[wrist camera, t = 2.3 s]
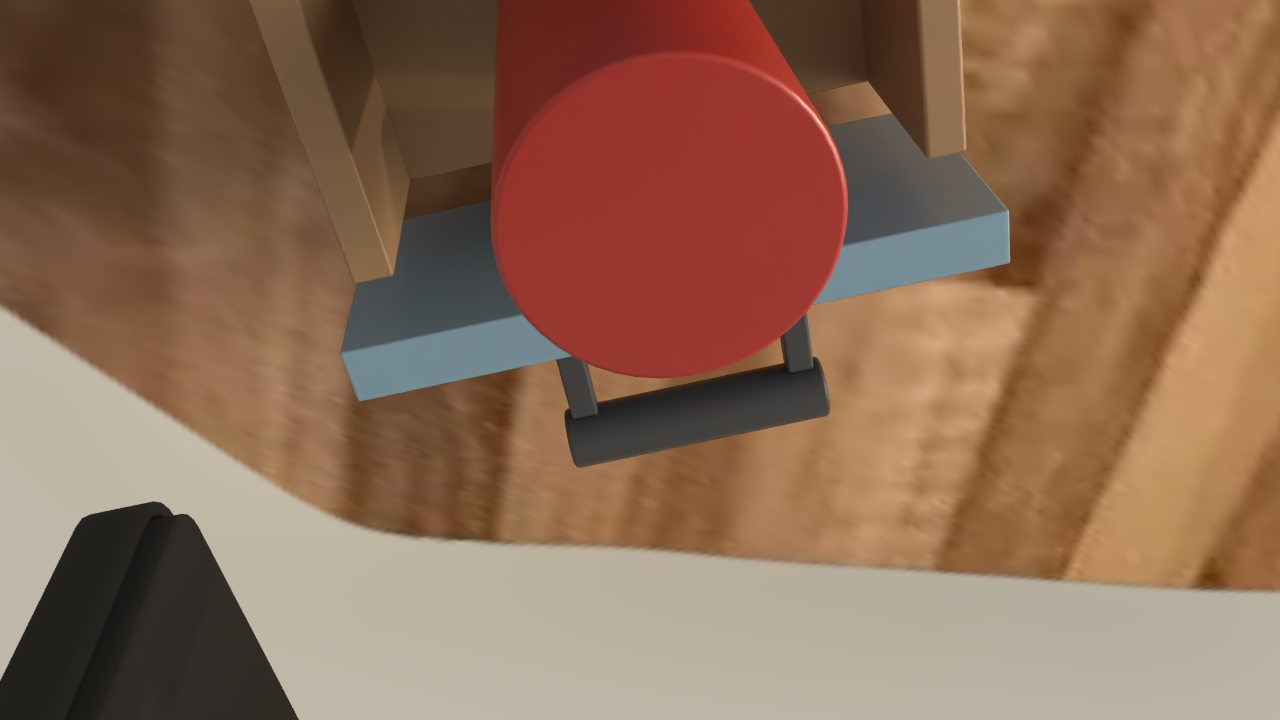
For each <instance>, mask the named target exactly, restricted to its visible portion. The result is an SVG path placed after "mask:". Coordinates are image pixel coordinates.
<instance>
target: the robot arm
mask: <svg viewBox="0 0 1280 720" xmlns="http://www.w3.org/2000/svg"><path fill="white" fill-rule="evenodd" d="M0 720H299V719H298V717H297V715H296V713H295V711H294V709H293V708H292V706H291V704H290V702H289V700H288V698H287V696H286V694H285V692H284V690H283V689H282V686H281V685H280V683H279V681H278V679H277V677H276V675H275V673H274V671H273V669H272V667H271V665H270V663H269V662H268V660H267V658H266V656H265V654H264V652H263V650H262V648H261V646H260V644H259V643H258V640H257V639H256V637H255V635H254V633H253V631H252V629H251V627H250V625H249V623H248V621H247V619H246V617H245V615H244V614H243V612H242V610H241V608H240V606H239V604H238V602H237V600H236V598H235V596H234V595H233V592H232V591H231V589H230V587H229V585H228V583H227V581H226V579H225V577H224V575H223V573H222V571H221V569H220V567H219V565H218V564H217V562H216V560H215V558H214V556H213V554H212V552H211V550H210V548H209V546H208V544H207V542H206V541H205V539H204V537H203V535H202V533H201V531H200V529H199V527H198V526H197V524H196V523H195V521H194V520H193V519H192V518H191V517H190V516H189V515H186V514H179V515H173V514H172V513H171V511H170V509H169V508H167V507H166V506H165V505H164V504H162V503H159V502H149V503H144V504H139V505H134V506H130V507H124V508H120V509H115V510H110V511H105V512H100V513H95V514H91V515H88V516H86V517H84V518H82V519H81V521H80V522H79V524H78V525H77V526H76V528H75V530H74V532H73V534H72V536H71V538H70V540H69V542H68V544H67V546H66V548H65V550H64V552H63V554H62V556H61V559H60V560H59V562H58V564H57V566H56V568H55V571H54V573H53V575H52V577H51V579H50V581H49V583H48V585H47V587H46V589H45V591H44V593H43V595H42V597H41V599H40V601H39V603H38V605H37V607H36V609H35V611H34V614H33V615H32V617H31V619H30V621H29V623H28V626H27V627H26V630H25V632H24V634H23V636H22V638H21V640H20V642H19V644H18V646H17V648H16V650H15V652H14V654H13V656H12V658H11V660H10V662H9V664H8V666H7V668H6V670H5V673H4V675H3V677H2V678H1V681H0Z"/></svg>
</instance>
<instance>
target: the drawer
mask: <svg viewBox="0 0 1280 720" xmlns="http://www.w3.org/2000/svg"><path fill="white" fill-rule="evenodd" d="M249 2H250V5H251V7H252V10H253V13H254V16H255V18H256V21H257V24H258V26H259V29H260V32H261V34H262V37H263V40H264V42H265V45H266V48H267V51H268V53H269V56H270V59H271V61H272V64H273V67H274V69H275V72H276V75H277V78H278V80H279V83H280V86H281V88H282V91H283V94H284V96H285V99H286V102H287V104H288V107H289V110H290V113H291V115H292V118H293V121H294V123H295V126H296V129H297V131H298V134H299V137H300V139H301V142H302V145H303V148H304V150H305V153H306V156H307V158H308V161H309V164H310V166H311V169H312V172H313V174H314V177H315V180H316V183H317V185H318V188H319V191H320V193H321V196H322V199H323V201H324V204H325V207H326V210H327V212H328V215H329V218H330V220H331V223H332V226H333V228H334V231H335V234H336V236H337V239H338V242H339V245H340V247H341V250H342V253H343V255H344V258H345V261H346V263H347V266H348V269H349V271H350V274H351V277H352V280H353V282H354V283H356V288H355V292H354V296H353V301H352V305H351V309H350V314H349V318H348V322H347V327H346V331H345V335H344V339H343V344H342V348H341V352H340V355H341V358H342V360H343V363H344V366H345V368H346V371H347V373H348V376H349V378H350V381H351V383H352V386H353V388H354V391H355V394H356V396H357V399H358V400H359V401H364V400H369V399H373V398H378V397H383V396H388V395H392V394H397V393H402V392H406V391H411V390H416V389H420V388H425V387H430V386H434V385H439V384H444V383H449V382H453V381H458V380H463V379H467V378H472V377H477V376H481V375H486V374H491V373H496V372H500V371H505V370H510V369H514V368H519V367H524V366H528V365H533V364H538V363H542V362H547V361H552V360H557V364H558V368H559V371H560V375H561V379H562V382H563V386H564V390H565V393H566V397H567V400H568V404H569V408H570V409H567V410H566V411H565V426H566V432H567V438H568V442H569V447H570V451H571V455H572V458H573V461H574V463H575V465H576V466H577V467H579V468H582V467H586V466H591V465H596V464H601V463H605V462H610V461H615V460H620V459H624V458H629V457H634V456H639V455H643V454H648V453H653V452H658V451H662V450H667V449H672V448H677V447H681V446H686V445H691V444H696V443H700V442H705V441H710V440H715V439H719V438H724V437H729V436H734V435H738V434H743V433H748V432H753V431H757V430H762V429H767V428H772V427H776V426H781V425H786V424H791V423H795V422H800V421H805V420H810V419H814V418H819V417H824V416H827V415H828V414H829V413H830V400H829V394H828V388H827V384H826V379H825V376H824V372H823V369H822V366H821V363H820V361H819V360H818V358H817V357H812V350H811V343H810V335H809V328H808V320H807V313H805V314H804V315H803V316H802V317H801V318H800V319H799V320H798V322H797V323H796V324H795V325H794V326H792V327H791V328H790V329H789V330H788V331H787V332H785V333H784V334H783V335H782V336H781V337H780V339H781V346H782V352H783V359H784V362H785V363H782V364H777V365H772V366H768V367H763V368H758V369H754V370H749V371H744V372H739V373H735V374H730V375H725V376H721V377H716V378H711V379H706V380H702V381H697V382H692V383H688V384H683V385H678V386H673V387H669V388H664V389H659V390H654V391H650V392H645V393H640V394H636V395H631V396H626V397H621V398H617V399H612V400H607V401H603V402H598V403H597V400H596V396H595V392H594V388H593V384H592V380H591V376H590V373H589V369H588V365H587V363H585V362H583V361H581V360H578V359H576V358H575V357H573V356H571V355H570V354H568V353H566V352H564V351H563V350H561V349H559V348H558V347H557V346H555V345H554V344H553V343H552V342H550V341H549V340H548V339H546V338H545V337H544V336H543V335H541V334H540V333H539V332H538V331H537V330H536V329H535V328H534V327H533V326H532V325H531V324H530V323H529V322H528V321H527V319H526V318H525V317H524V316H523V314H522V313H521V312H520V310H519V309H518V308H517V306H516V305H515V304H514V302H513V300H512V299H511V297H510V295H509V293H508V291H507V289H506V288H505V286H504V284H503V281H502V279H501V276H500V273H499V270H498V268H497V265H496V261H495V257H494V252H493V247H492V241H491V226H490V214H491V200H490V201H485V202H480V203H476V204H471V205H467V206H462V207H457V208H453V209H448V210H444V211H439V212H434V213H430V214H425V215H420V216H416V217H411V218H407V219H403V218H404V212H405V206H406V201H407V195H408V189H409V184H410V181H411V180H416V179H420V178H425V177H429V176H434V175H439V174H443V173H448V172H452V171H457V170H462V169H466V168H471V167H475V166H480V165H485V164H489V163H492V155H493V126H494V97H495V68H496V39H497V10H498V0H249ZM749 2H750V3H751V5H752V6H753V8H754V10H755V11H756V13H757V15H758V16H759V18H760V19H761V21H762V23H763V24H764V26H765V28H766V29H767V31H768V32H769V34H770V36H771V37H772V39H773V41H774V42H775V44H776V45H777V47H778V49H779V50H780V52H781V54H782V55H783V57H784V58H785V60H786V62H787V63H788V65H789V67H790V68H791V70H792V71H793V73H794V75H795V76H796V78H797V80H798V81H799V83H800V85H801V86H802V88H803V89H804V91H805V93H806V94H811V93H816V92H820V91H825V90H829V89H834V88H839V87H843V86H848V85H852V84H857V83H862V82H866V81H868V82H869V83H870V85H871V86H872V87H873V88H874V90H875V91H876V92H877V94H878V95H879V96H880V98H881V99H882V100H883V102H884V103H885V104H886V105H887V107H888V108H889V109H890V111H891V112H892V113H891V114H887V115H882V116H877V117H873V118H868V119H863V120H859V121H854V122H850V123H845V124H840V125H836V126H831V127H827V129H828V131H829V133H830V134H831V136H832V138H833V140H834V142H835V144H836V146H837V149H838V152H839V155H840V158H841V161H842V164H843V167H844V172H845V177H846V183H847V188H848V216H847V225H846V232H845V236H844V240H843V244H842V248H841V252H840V255H839V257H838V260H837V262H836V265H835V267H834V270H833V272H832V274H831V276H830V278H829V280H828V281H827V283H826V285H825V287H824V289H823V290H822V292H821V294H820V295H819V296H818V298H817V299H816V300H815V302H814V303H813V304H812V305H815V304H819V303H824V302H829V301H834V300H838V299H843V298H848V297H852V296H857V295H862V294H866V293H871V292H876V291H880V290H885V289H890V288H895V287H899V286H904V285H909V284H913V283H918V282H923V281H927V280H932V279H937V278H941V277H946V276H951V275H956V274H960V273H965V272H970V271H974V270H979V269H984V268H988V267H993V266H998V265H1003V264H1007V263H1009V262H1010V242H1009V211H1008V209H1007V208H1006V207H1005V206H1004V205H1003V203H1002V202H1001V201H1000V200H999V199H998V197H997V196H996V195H995V194H994V193H993V191H992V190H991V189H990V188H989V187H988V185H987V184H986V183H985V182H984V181H983V179H982V178H981V177H980V176H979V175H978V173H977V172H976V171H975V170H974V169H973V167H972V166H971V165H970V164H969V163H968V161H967V160H966V159H965V158H964V157H963V155H962V154H961V153H960V152H963V151H965V150H966V126H965V103H964V81H963V58H962V35H961V12H960V0H749Z"/></svg>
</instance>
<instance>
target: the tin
mask: <svg viewBox="0 0 1280 720" xmlns="http://www.w3.org/2000/svg"><path fill="white" fill-rule="evenodd" d="M847 216H848V188H847V183H846V177H845V172H844V167H843V164H842V161H841V158H840V155H839V152H838V149H837V146H836V144H835V142H834V140H833V138H832V136H831V134H830V133H829V131H828V129H827V127H826V125H825V124H824V122H823V120H822V119H821V117H820V115H819V114H818V112H817V111H816V109H815V107H814V106H813V104H812V102H811V101H810V99H809V98H808V96H807V94H806V93H805V91H804V89H803V88H802V86H801V85H800V83H799V81H798V80H797V78H796V76H795V75H794V73H793V71H792V70H791V68H790V67H789V65H788V63H787V62H786V60H785V58H784V57H783V55H782V54H781V52H780V50H779V49H778V47H777V45H776V44H775V42H774V41H773V39H772V37H771V36H770V34H769V32H768V31H767V29H766V28H765V26H764V24H763V23H762V21H761V19H760V18H759V16H758V15H757V13H756V11H755V10H754V8H753V6H752V5H751V3H750V2H749V0H498V10H497V39H496V68H495V97H494V126H493V155H492V184H491V214H490V226H491V241H492V247H493V252H494V257H495V261H496V265H497V268H498V270H499V273H500V276H501V279H502V281H503V284H504V286H505V288H506V289H507V291H508V293H509V295H510V297H511V299H512V300H513V302H514V304H515V305H516V306H517V308H518V309H519V310H520V312H521V313H522V314H523V316H524V317H525V318H526V319H527V321H528V322H529V323H530V324H531V325H532V326H533V327H534V328H535V329H536V330H537V331H538V332H539V333H540V334H541V335H543V336H544V337H545V338H546V339H548V340H549V341H550V342H552V343H553V344H554V345H555V346H557V347H558V348H559V349H561V350H563V351H564V352H566V353H568V354H570V355H571V356H573V357H575V358H576V359H578V360H581V361H583V362H585V363H588V364H590V365H592V366H594V367H597V368H601V369H604V370H607V371H610V372H614V373H618V374H623V375H629V376H635V377H646V378H674V377H684V376H691V375H697V374H702V373H706V372H710V371H713V370H717V369H721V368H723V367H726V366H729V365H731V364H734V363H736V362H739V361H741V360H743V359H745V358H747V357H749V356H751V355H753V354H755V353H757V352H759V351H761V350H762V349H763V348H765V347H766V346H768V345H769V344H771V343H772V342H774V341H775V340H777V339H778V338H780V337H781V336H782V335H783V334H784V333H785V332H787V331H788V330H789V329H790V328H791V327H792V326H794V325H795V324H796V323H797V322H798V320H799V319H800V318H801V317H802V316H803V315H804V314H805V313H806V312H807V311H808V310H809V309H810V307H811V306H812V304H813V303H814V302H815V300H816V299H817V298H818V296H819V295H820V294H821V292H822V290H823V289H824V287H825V285H826V283H827V281H828V280H829V278H830V276H831V274H832V272H833V270H834V267H835V265H836V262H837V260H838V257H839V255H840V252H841V248H842V244H843V240H844V236H845V232H846V225H847Z"/></svg>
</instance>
